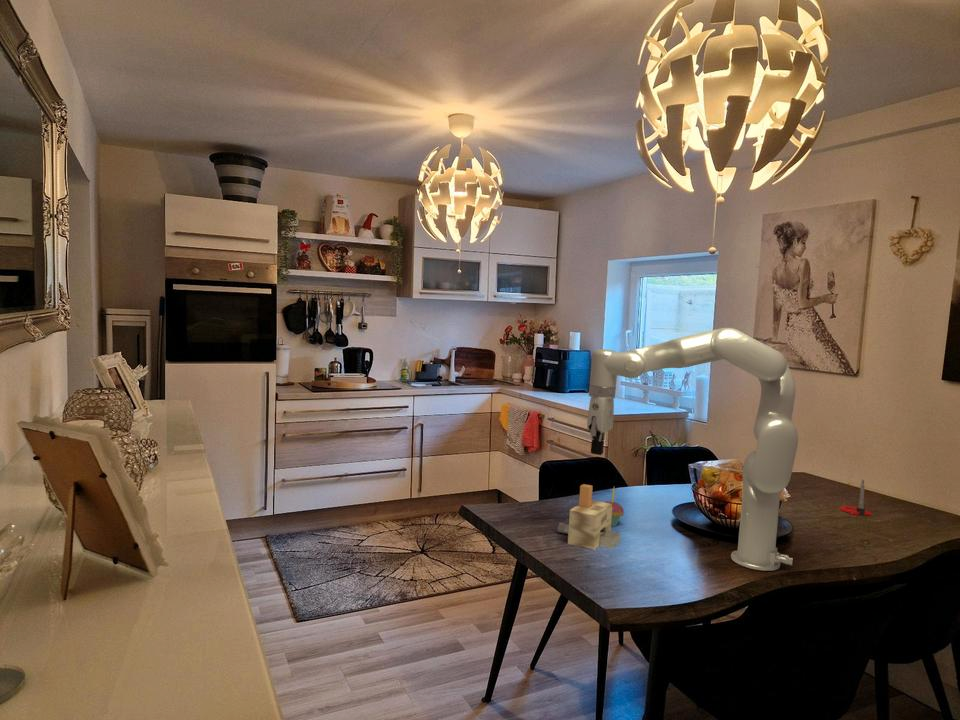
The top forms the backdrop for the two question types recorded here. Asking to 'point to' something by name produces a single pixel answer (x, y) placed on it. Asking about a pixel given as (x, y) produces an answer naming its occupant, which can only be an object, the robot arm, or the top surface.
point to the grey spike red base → (861, 504)
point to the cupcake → (615, 510)
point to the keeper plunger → (585, 496)
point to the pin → (606, 538)
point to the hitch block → (589, 524)
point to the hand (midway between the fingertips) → (596, 453)
